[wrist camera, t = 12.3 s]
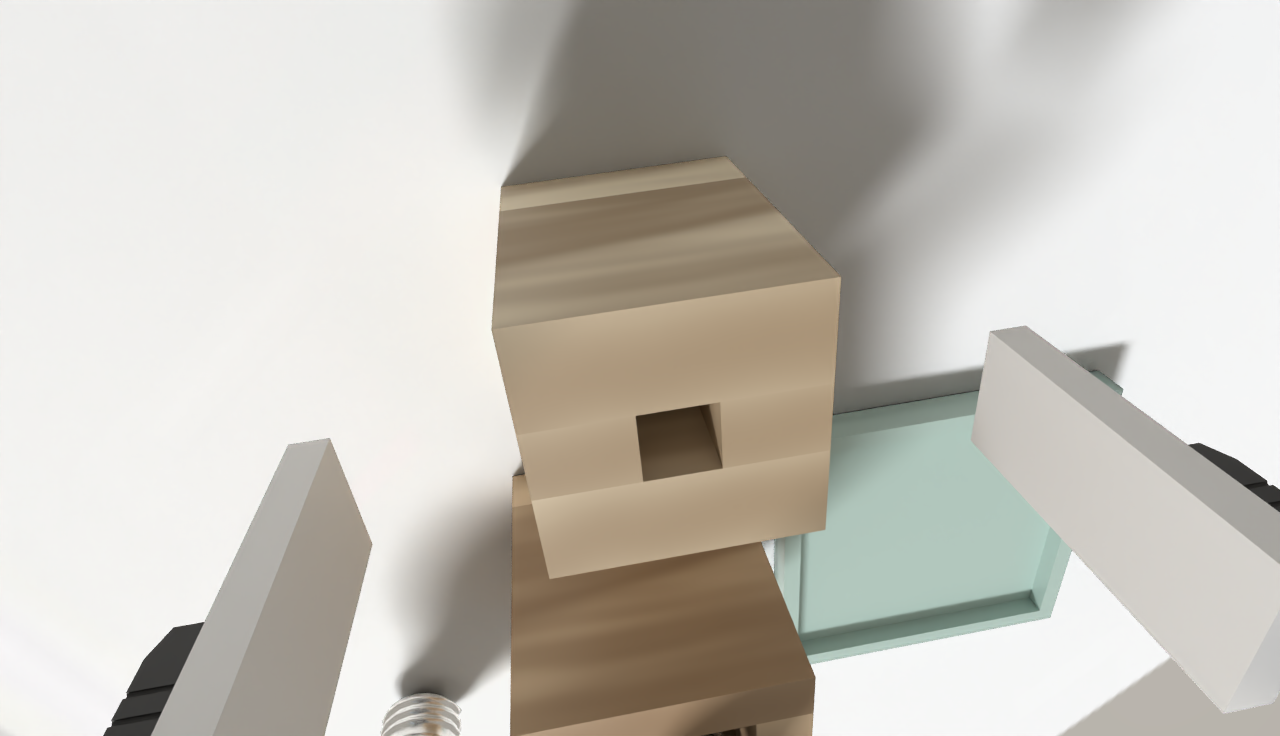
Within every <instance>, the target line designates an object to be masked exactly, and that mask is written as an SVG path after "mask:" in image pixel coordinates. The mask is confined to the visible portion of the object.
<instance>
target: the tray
mask: <svg viewBox="0 0 1280 736" xmlns="http://www.w3.org/2000/svg"><path fill="white" fill-rule="evenodd" d="M1089 373H1091V374H1092V375H1094V376H1095V377H1096V378H1098V379H1099V380H1100V381H1102V382H1103V383H1104V384H1106V385H1107V386H1109V387H1110V388H1111V389H1113V390H1114V391H1115V392H1117V393H1118V394H1119V395H1122V392H1123V388H1121V387H1120V386H1119V385H1117V384H1116V383H1115V382H1113V381H1112V380H1111V379H1109V378H1108V377H1107V376H1105V375H1104V374H1103V373H1101V372H1100V371H1093V372H1089ZM978 396H979V391H974V392H968V393H962V394H956V395H950V396H944V397H938V398H932V399H926V400H921V401H915V402H909V403H903V404H897V405H891V406H885V407H879V408H873V409H867V410H861V411H855V412H849V413H843V414H837V415H833V417H832V433H831V449H830V465H829V481H828V497H827V513H826V529H825V530H822V531H816V532H811V533H805V534H800V535H794V536H788V537H783V538H777V539H774V576H775V578H776V581H777V583H778V586H779V588H780V591H781V593H782V596H783V598H784V601H785V603H786V605H787V608H788V610H789V613H790V615H791V618H792V620H793V623H794V625H795V628H796V630H797V633H798V635H799V638H800V640H801V643H802V645H803V648H804V650H805V653H806V655H807V658H808V660H809V663H810V664H815V663H820V662H825V661H830V660H835V659H841V658H846V657H851V656H856V655H861V654H866V653H871V652H876V651H882V650H887V649H892V648H897V647H902V646H907V645H912V644H918V643H923V642H928V641H933V640H938V639H943V638H948V637H953V636H959V635H964V634H969V633H974V632H979V631H984V630H989V629H994V628H1000V627H1005V626H1010V625H1015V624H1020V623H1025V622H1030V621H1036V620H1041V619H1046V618H1050V617H1051V614H1052V611H1053V607H1054V604H1055V601H1056V598H1057V595H1058V592H1059V589H1060V586H1061V582H1062V579H1063V576H1064V573H1065V570H1066V567H1067V564H1068V561H1069V557H1070V554H1071V551H1072V549H1071V548H1070V547H1069V546H1068V545H1067V544H1066V543H1065V542H1064V541H1063V540H1062V539H1061V538H1060V537H1059V535H1058V534H1057V533H1056V532H1055V531H1054V530H1053V529H1052V528H1051V527H1050V526H1049V525H1048V524H1047V522H1046V521H1045V520H1044V519H1043V518H1042V517H1041V516H1040V515H1039V514H1038V513H1037V512H1036V511H1035V510H1034V508H1033V507H1032V506H1031V505H1030V504H1029V503H1028V502H1027V501H1026V500H1025V499H1024V498H1023V497H1022V495H1021V494H1020V493H1019V492H1018V491H1017V490H1016V489H1015V488H1014V487H1013V486H1012V485H1011V484H1010V482H1009V481H1008V480H1007V479H1006V478H1005V477H1004V476H1003V475H1002V474H1001V473H1000V472H999V471H998V470H997V468H996V467H995V466H994V465H993V464H992V463H991V462H990V461H989V460H988V459H987V458H986V457H985V455H984V454H983V453H982V452H981V451H980V450H979V449H978V448H977V447H976V446H975V445H974V444H973V442H972V441H971V435H972V430H973V424H974V418H975V413H976V407H977V402H978Z"/></svg>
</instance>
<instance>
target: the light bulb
mask: <svg viewBox="0 0 1280 736" xmlns="http://www.w3.org/2000/svg"><path fill="white" fill-rule="evenodd" d="M460 713H461V709H460V708H459V706H458V705H457V704H456V703H455V702H453V701H451V700H449V699H448V698H446V697H444V696H441V695H437V694H432V693H420V694H414V695H411V696H408V697H405V698H401V699H400V700H399V701H397V702H396V703H394V704H393V705H392V706H391V708H390V709H389V710H388V711H387V713H386V715H385V717H384V719H383V721H382V723H383V728H382V730H381V736H460V731H461V720H460V719H459V717H458V716H459V714H460Z"/></svg>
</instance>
